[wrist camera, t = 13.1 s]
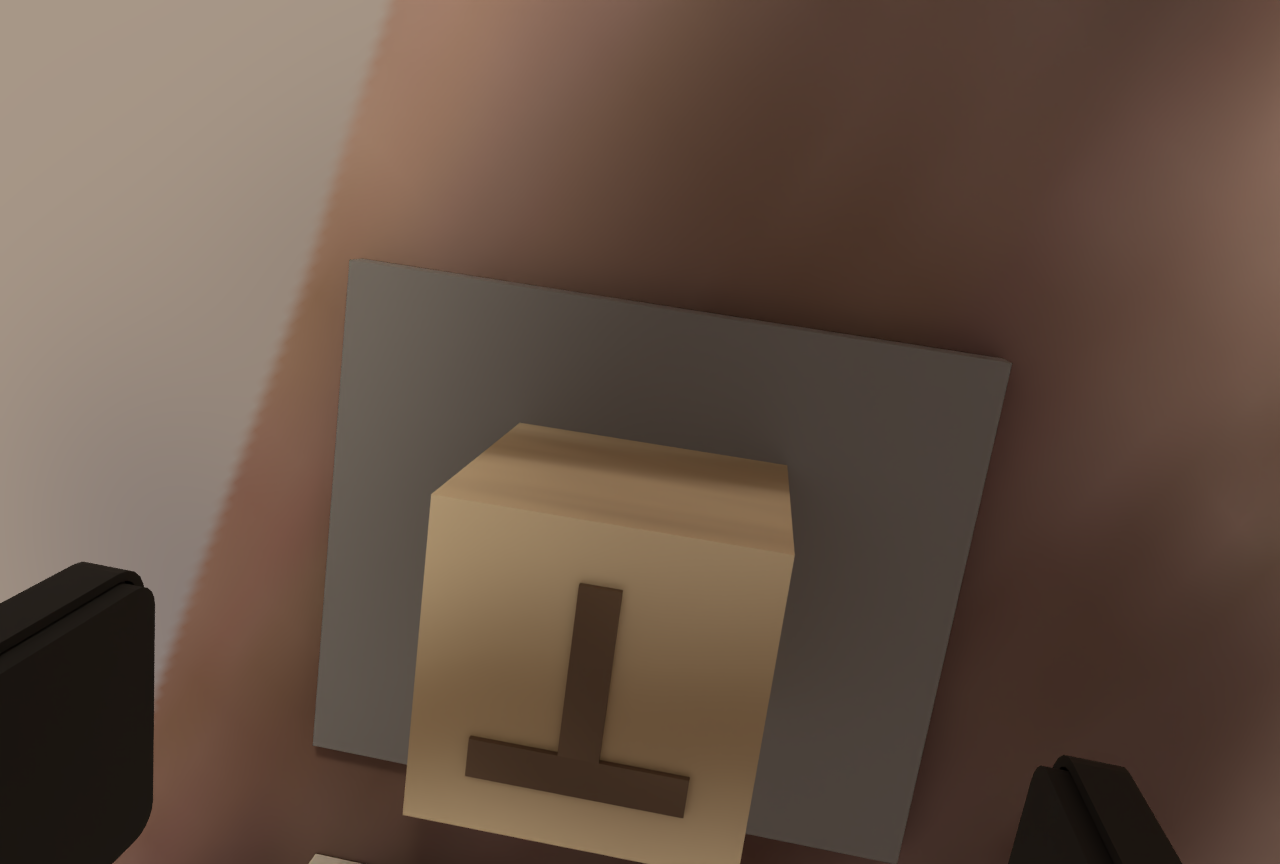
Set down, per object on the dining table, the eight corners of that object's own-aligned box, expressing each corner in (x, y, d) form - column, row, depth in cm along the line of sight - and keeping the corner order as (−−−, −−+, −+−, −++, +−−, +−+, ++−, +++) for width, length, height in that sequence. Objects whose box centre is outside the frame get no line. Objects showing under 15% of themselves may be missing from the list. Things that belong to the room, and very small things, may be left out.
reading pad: (362, 258, 19) (349, 259, 18) (1004, 358, 18) (1012, 363, 17) (325, 730, 21) (312, 745, 20) (893, 845, 20) (896, 864, 19)
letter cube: (519, 422, 18) (428, 496, 13) (786, 465, 18) (795, 557, 13) (492, 672, 20) (399, 825, 15) (743, 718, 19) (735, 892, 14)
